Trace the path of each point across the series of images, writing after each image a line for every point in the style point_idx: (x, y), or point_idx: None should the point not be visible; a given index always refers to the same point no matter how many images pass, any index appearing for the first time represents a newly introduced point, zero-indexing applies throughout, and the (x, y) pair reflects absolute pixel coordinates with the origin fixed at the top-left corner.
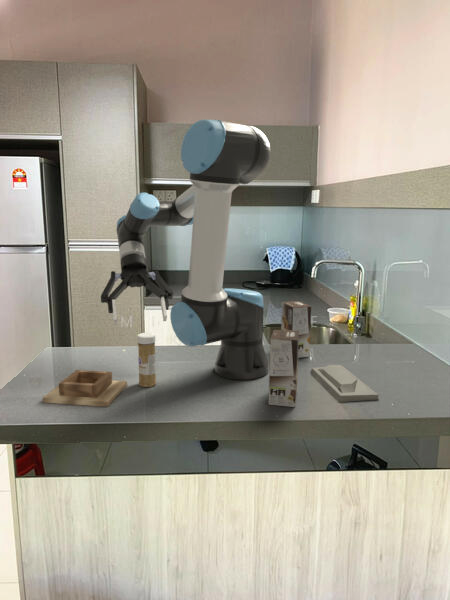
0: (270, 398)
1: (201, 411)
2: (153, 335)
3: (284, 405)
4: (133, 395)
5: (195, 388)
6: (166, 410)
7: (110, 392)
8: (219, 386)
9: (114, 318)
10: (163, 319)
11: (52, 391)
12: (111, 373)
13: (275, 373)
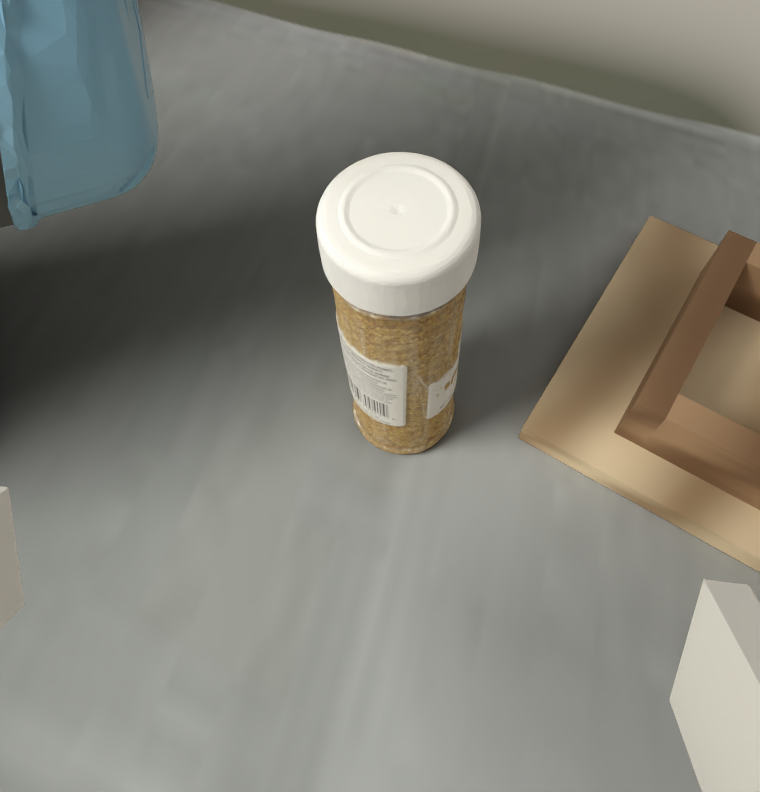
0: None
1: (282, 82)
2: (343, 175)
3: None
4: (508, 303)
5: (193, 273)
6: (405, 127)
7: (631, 308)
8: (78, 254)
9: (745, 594)
10: (11, 592)
11: None
12: (635, 402)
13: None
